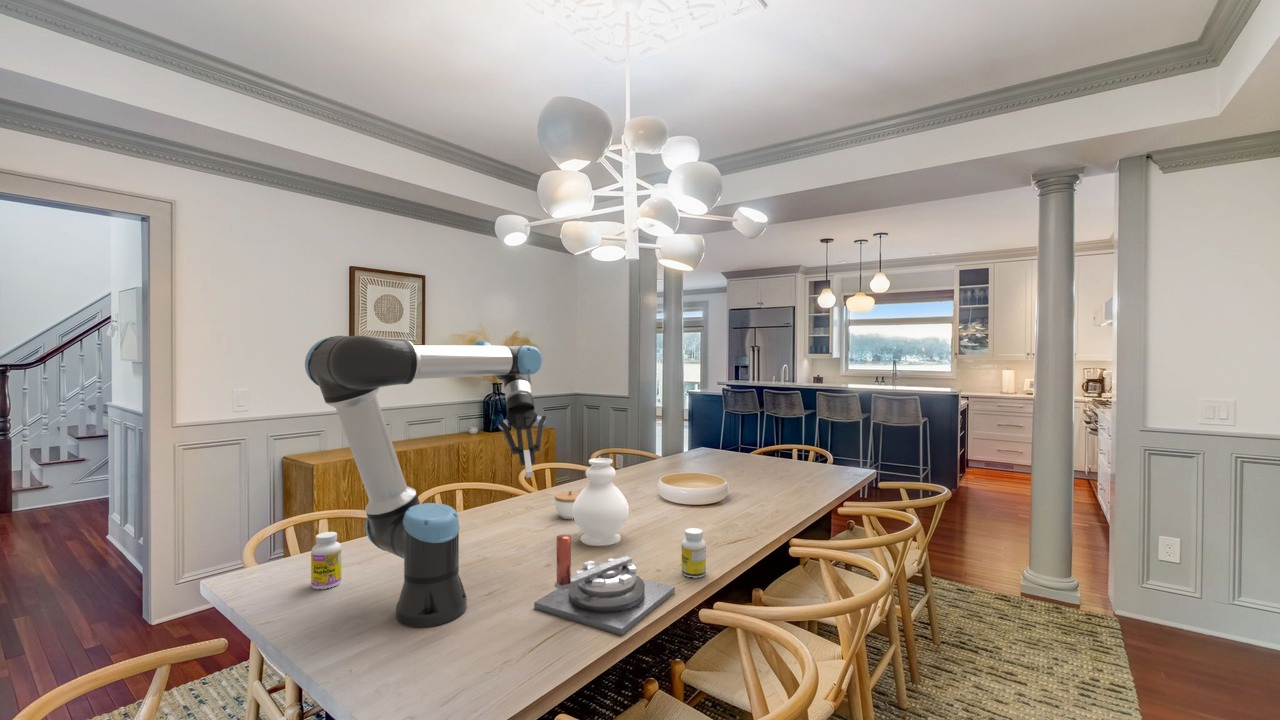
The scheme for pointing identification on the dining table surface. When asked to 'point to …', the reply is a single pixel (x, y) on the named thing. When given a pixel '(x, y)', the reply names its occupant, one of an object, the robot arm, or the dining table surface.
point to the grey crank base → (606, 605)
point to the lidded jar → (565, 503)
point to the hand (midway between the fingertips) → (529, 474)
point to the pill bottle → (693, 553)
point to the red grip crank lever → (594, 573)
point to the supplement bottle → (326, 561)
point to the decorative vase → (600, 505)
